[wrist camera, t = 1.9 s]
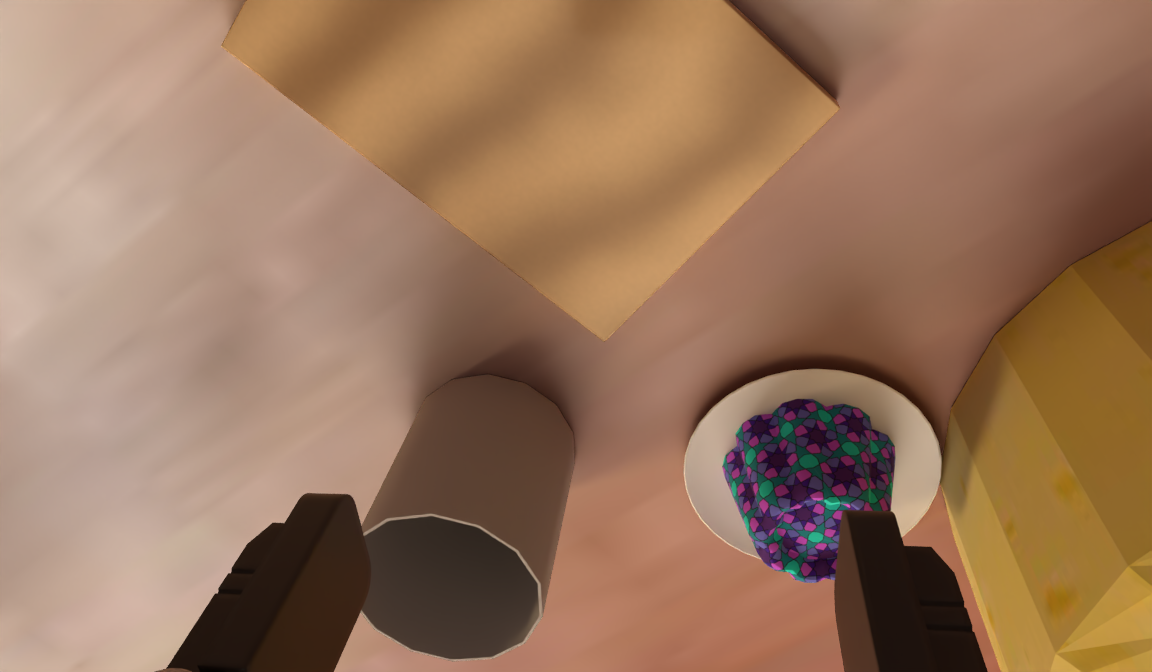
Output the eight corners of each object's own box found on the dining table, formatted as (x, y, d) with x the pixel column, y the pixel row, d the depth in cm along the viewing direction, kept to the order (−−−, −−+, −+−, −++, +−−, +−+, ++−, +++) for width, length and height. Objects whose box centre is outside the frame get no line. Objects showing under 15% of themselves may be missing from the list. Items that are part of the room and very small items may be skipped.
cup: (500, 346, 41) (445, 481, 32) (608, 460, 43) (585, 614, 35) (381, 428, 44) (303, 570, 36) (488, 529, 47) (439, 684, 38)
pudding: (870, 581, 45) (888, 664, 41) (652, 516, 45) (646, 592, 40) (986, 404, 39) (1022, 479, 34) (734, 328, 39) (737, 392, 34)
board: (232, 41, 35) (220, 46, 34) (414, -292, 29) (406, -296, 28) (606, 331, 40) (604, 342, 39) (837, 101, 33) (841, 108, 32)
